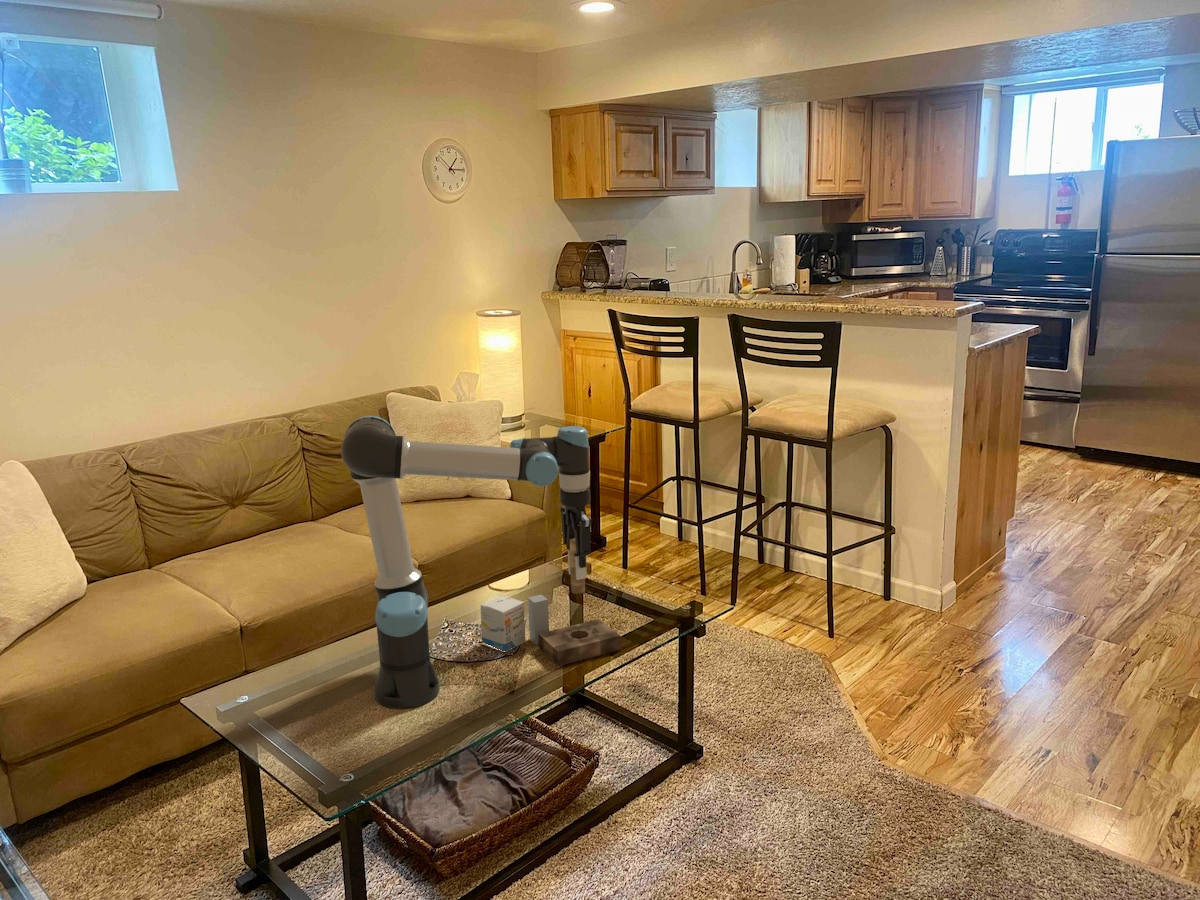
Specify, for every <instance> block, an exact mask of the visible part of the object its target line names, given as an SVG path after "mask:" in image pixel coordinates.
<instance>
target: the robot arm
mask: <svg viewBox="0 0 1200 900" xmlns="http://www.w3.org/2000/svg"><path fill="white" fill-rule="evenodd" d="M344 433H345V434H344V438H343V440H342V442H341V446H340V447H341V448H340V455H341V459H342V461H343V463H344V464H345V466H346V467H347V468H348V469H349V472H350V473H349V474H350V478H351V480H353V481H354V482H356V483H357V484H359V487H360V492H361V497H362V502H363V507H364V512H365V516H366V519H367V525H368V530H369V535H370V539H371V544H372V548H373V553H374V558H375V562H376V568H377V571H378V572H377V573H378V576H377V577H376V579H375V580H374V588H375V594H376V597H377V605H376V607H375V613H374V621H375V623H376V631H377V632H376V633H377V635H376V636H377V644H378V657H379V670H378V673H377V677H376V681H375V684H374V698H375V701H376V702H377V703H378V705H381V706H383V707H386V708H389V709H410V708H411V709H412V708H415V707H419V706H422V705H425V704H427V703H429V702H431V701H433V700H434V699H435V698H436V697H437V696H438V694H439V693H440V691H441V689H440V678H439V677H438V674H437V672H436V669H435V667H434V666H433V663H432V661H431V655H430V639H429V625H428V624H429V621H428V620H429V619H428V616H429V615H428V613H429V611H428V610H429V609H428V606H429V596H428V591H427V589H426V587H425V584H424V580H423V575H422V572H421V570H420V569H417V568H416V567H415V566H414V560H413V557H412V552H411V545H410V542H409V537H408V533H407V532H408V531H407V526H406V522H405V517H404V512H403V508H402V503H401V497H400V492H399V487H398V482H397V479H400V480H401V479H403V478H405V476H407V475H411V476H413V475H415V476H426V477H427V476H430V477H444V478H445V477H447V478H467V479H468V478H469V479H483V480H501V481H502V480H503V481H521V482H530V483H531V484H533V485H535V486H538V487H547V486H549V485H551V484H552V483H554V482H555V480H556V479H557V477H559V479H558V480H559V488H561V489H559V494H560V495H559V496H560V497H559V498H560V499H559V500H560V504H561V505H562V506H561V507H560V508H559V510H560V516H561V527H562V528H561V529H562V543H563V545H566V549H567V563H568V566H567V567H568V569H567V570H568V575H570V576H571V569H570V539H571V538H574V537H575V541H576V550H577V554H574V555H575V565H576V579H577V580H580V579H584V578H585V579H587V576H588V575H587V570H588V569H587V555H591V553H592V552H591V550H592V545H591V544H592V524H593V519H592V517H588V516H587V510H586V506H587V505H589V504H590V502H591V489H590V488H589V487H590V484H591V483H590V477H591V473H590V452H589V451H590V445H589V434H588V433H589V431H588V430H587V429H586V428H585V427H583V426H578V425H568V426H563V427H560V428H558V430H557V435H556V436H549V437H530V438H525V437H522V438H519V439H518V438H517V439H513V440H511V441H510V443H509V447H507V446H506V447H503V446H492V445H477V444H475V445H474V444H461V443H444V442H429V441H417V440H415V441H413V440H409V439H407V438H406V436H403V435H397V434H396V431H395V430H394V428H393V427H392V425H391V424H390V423H389V422H388V421H387V420H386V419H384V418H382V417H379V416H376V415H365V416H361V417H359V418H357V419H355V420H354V421H353V422H351V424H349V426H348V427H347V429H346V430H345V432H344ZM558 475H559V476H558Z"/></svg>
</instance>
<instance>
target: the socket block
mask: <svg viewBox="0 0 1200 900" xmlns="http://www.w3.org/2000/svg"><path fill="white" fill-rule="evenodd" d="M538 637H539V644H538V648H539V649H540V651H542V652H543V653H544V654H545V656H547V657H548V658H550V659H551V661H552V662H553V663H554V664H556V665H557V667H560V666H561V667H562V666H565V665H568V664H572V663H575V662H579V661H583V659H584V660H587V659H590V658H594V657H599V656H603V655H606V654H610V653H614V652H617V651H621V650H622V649H621V648H622V646H621V645H622V643H621V637H622V636H621V635H620V633H619V632H617V631H615V630H614V629H613V628H611V627H610V626H609V625H608V624H606V623H605V622H604V621H603V620H600V618H597V619H593V620H590V621H585V622H582V623H577V624H573V625H568V626H565V627H560V628H556V629H552V630H549V631H547V632H543V633H539V634H538Z"/></svg>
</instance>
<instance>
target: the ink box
mask: <svg viewBox="0 0 1200 900" xmlns="http://www.w3.org/2000/svg"><path fill="white" fill-rule="evenodd" d="M525 622H526V621H525V602H524V601H522V600H518V599H516V598H512V597H510V596H506V595H500V596H497V597H495V598H493V599H490V600H488V601H487V602H484V603H481V604H480V626H481V643H482V642H484V643H486V644H488V645H491V646H493V647H495V648H497V649H500V650H502V651H507V650H509V649H511V648H513V647H515V648H517V647H518V645H519V646H521V645H522V644H523V643H526V641H527V640H526V626H525V625H526V623H525ZM516 646H517V647H516ZM513 649H514V648H513ZM511 650H512V649H511Z"/></svg>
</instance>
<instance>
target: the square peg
mask: <svg viewBox="0 0 1200 900" xmlns="http://www.w3.org/2000/svg"><path fill="white" fill-rule="evenodd" d="M527 603H528V604H527V606H528V625H529V626H528V627H529V628H528V629H529V640H530V641H531V642H532V643H533V644H534V645H536V646H537V645H539V637H538V634H539V633H543V632H547V631H550V621H549V619H550V617H549V615H550V614H549V599H548V598H547V597H545V596H544V594H539V595H533V596H528V597H527Z"/></svg>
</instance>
